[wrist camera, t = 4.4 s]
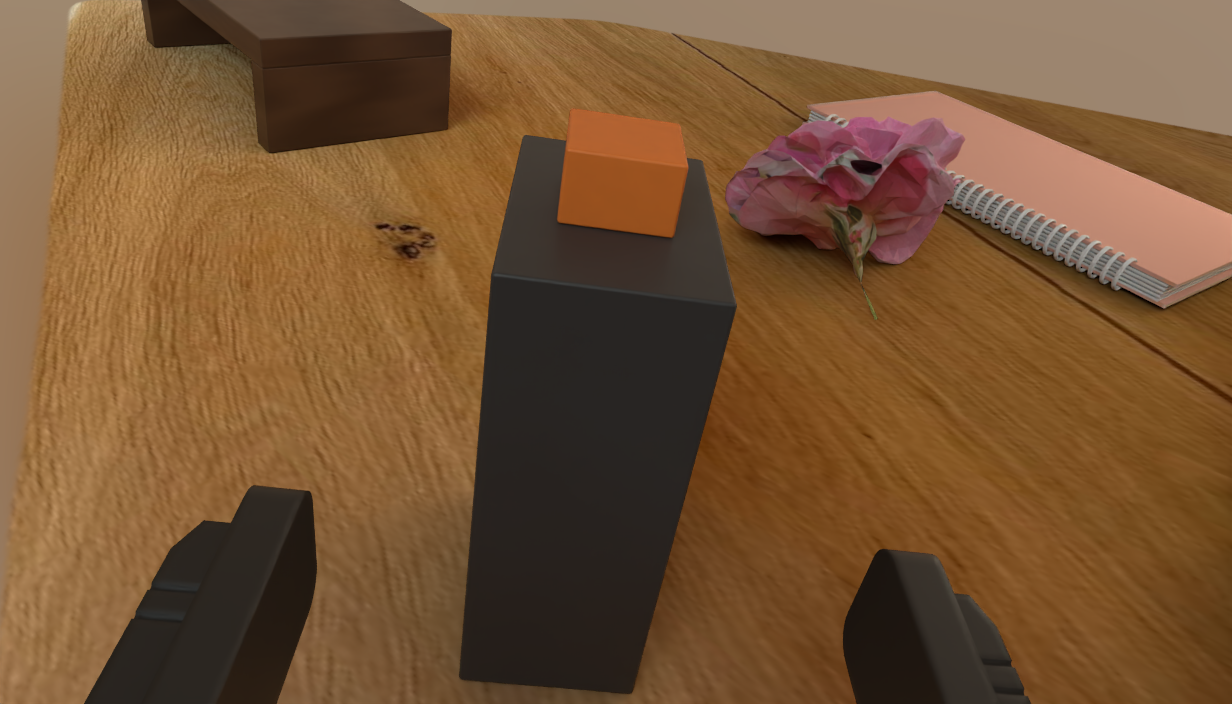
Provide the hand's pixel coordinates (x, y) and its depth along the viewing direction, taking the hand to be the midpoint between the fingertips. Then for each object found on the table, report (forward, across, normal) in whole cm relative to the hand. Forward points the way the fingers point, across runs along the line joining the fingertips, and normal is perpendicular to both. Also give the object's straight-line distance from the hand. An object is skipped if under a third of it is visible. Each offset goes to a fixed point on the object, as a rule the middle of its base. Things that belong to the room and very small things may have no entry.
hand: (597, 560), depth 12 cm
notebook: (+46, +30, -11) cm, 56 cm away
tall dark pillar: (+8, 0, -10) cm, 13 cm away
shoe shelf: (+47, -19, -10) cm, 51 cm away
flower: (+32, +13, -11) cm, 36 cm away
